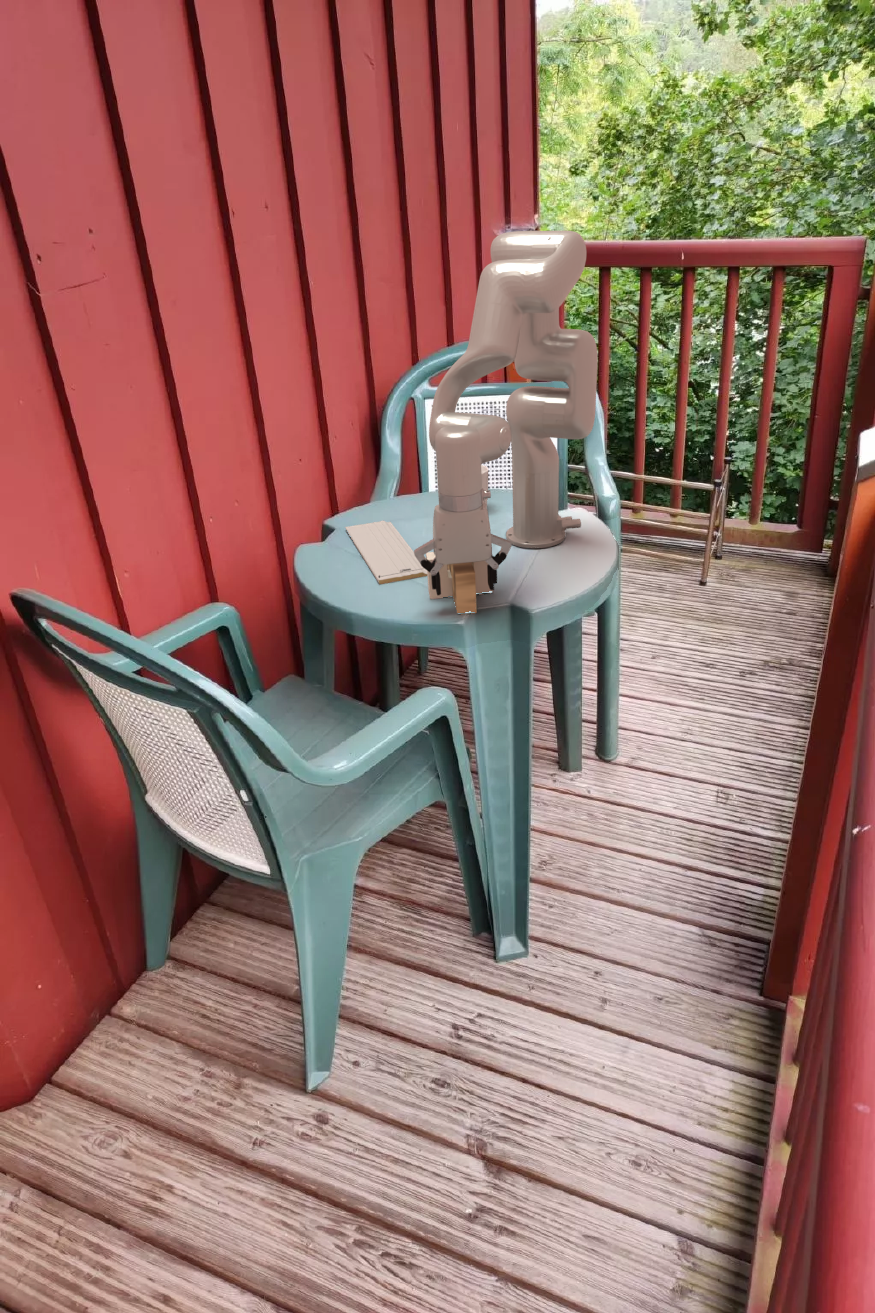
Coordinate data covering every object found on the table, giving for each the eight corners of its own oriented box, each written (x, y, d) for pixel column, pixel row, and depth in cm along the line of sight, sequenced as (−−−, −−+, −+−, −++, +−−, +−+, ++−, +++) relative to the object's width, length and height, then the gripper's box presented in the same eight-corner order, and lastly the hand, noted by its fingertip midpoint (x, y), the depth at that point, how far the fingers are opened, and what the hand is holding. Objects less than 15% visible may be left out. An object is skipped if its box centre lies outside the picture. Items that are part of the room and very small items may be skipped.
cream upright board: (490, 585, 173) (489, 546, 169) (493, 593, 170) (492, 553, 166) (428, 591, 172) (425, 552, 168) (430, 599, 169) (427, 560, 165)
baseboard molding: (397, 524, 205) (345, 533, 202) (395, 512, 204) (344, 521, 201) (437, 576, 179) (379, 587, 176) (436, 563, 178) (378, 574, 175)
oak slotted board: (446, 574, 178) (444, 536, 174) (464, 572, 179) (462, 534, 175) (457, 614, 163) (455, 574, 159) (476, 612, 163) (475, 572, 159)
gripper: (506, 487, 158) (508, 576, 167) (408, 496, 157) (415, 585, 166) (514, 502, 152) (515, 593, 160) (412, 511, 151) (419, 603, 159)
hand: (464, 589), depth 163 cm, fingers open, 9 cm apart
